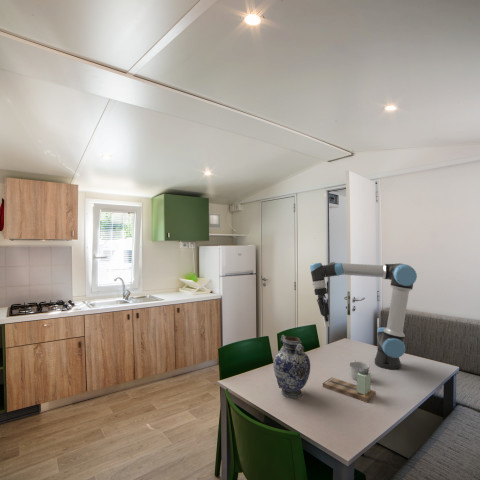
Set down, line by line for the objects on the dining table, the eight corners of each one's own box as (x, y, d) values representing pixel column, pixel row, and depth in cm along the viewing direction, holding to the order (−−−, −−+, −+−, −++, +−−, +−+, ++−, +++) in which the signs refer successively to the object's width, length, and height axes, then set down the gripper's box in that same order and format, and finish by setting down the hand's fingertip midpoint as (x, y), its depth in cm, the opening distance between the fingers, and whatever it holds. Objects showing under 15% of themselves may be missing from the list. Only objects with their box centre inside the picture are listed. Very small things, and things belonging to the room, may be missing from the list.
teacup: (371, 383, 171) (371, 369, 171) (350, 382, 173) (350, 367, 174) (366, 373, 185) (366, 359, 185) (347, 371, 187) (346, 358, 187)
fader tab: (356, 392, 156) (356, 370, 156) (362, 387, 161) (362, 366, 161) (365, 395, 153) (365, 373, 153) (370, 390, 158) (370, 369, 158)
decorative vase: (265, 386, 167) (266, 334, 167) (296, 382, 174) (297, 331, 174) (285, 406, 147) (286, 346, 147) (319, 400, 154) (319, 342, 154)
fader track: (322, 386, 167) (322, 382, 167) (331, 380, 175) (331, 377, 175) (367, 402, 151) (367, 398, 151) (375, 395, 158) (375, 391, 158)
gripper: (310, 289, 201) (317, 326, 197) (318, 288, 188) (325, 328, 184) (321, 287, 202) (328, 324, 198) (329, 286, 189) (337, 326, 185)
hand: (327, 326), depth 191 cm, fingers closed
